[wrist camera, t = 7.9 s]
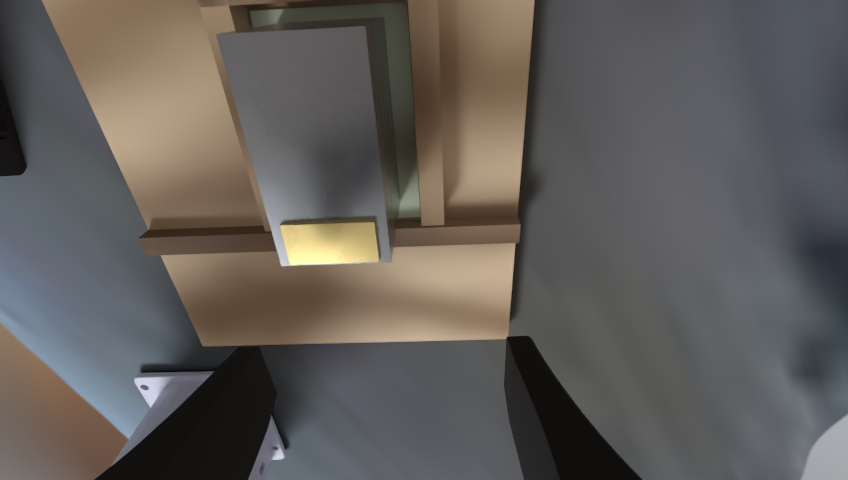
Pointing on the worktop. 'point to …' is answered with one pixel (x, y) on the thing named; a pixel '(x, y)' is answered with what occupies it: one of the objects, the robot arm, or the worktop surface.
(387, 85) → the bar
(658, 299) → the worktop surface
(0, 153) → the phone stand
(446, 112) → the board
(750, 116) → the worktop surface
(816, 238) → the worktop surface
